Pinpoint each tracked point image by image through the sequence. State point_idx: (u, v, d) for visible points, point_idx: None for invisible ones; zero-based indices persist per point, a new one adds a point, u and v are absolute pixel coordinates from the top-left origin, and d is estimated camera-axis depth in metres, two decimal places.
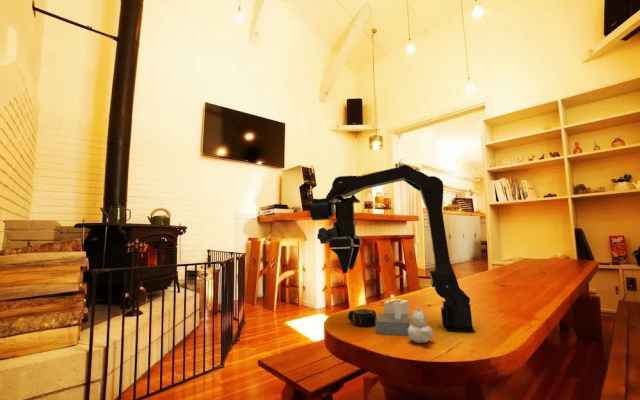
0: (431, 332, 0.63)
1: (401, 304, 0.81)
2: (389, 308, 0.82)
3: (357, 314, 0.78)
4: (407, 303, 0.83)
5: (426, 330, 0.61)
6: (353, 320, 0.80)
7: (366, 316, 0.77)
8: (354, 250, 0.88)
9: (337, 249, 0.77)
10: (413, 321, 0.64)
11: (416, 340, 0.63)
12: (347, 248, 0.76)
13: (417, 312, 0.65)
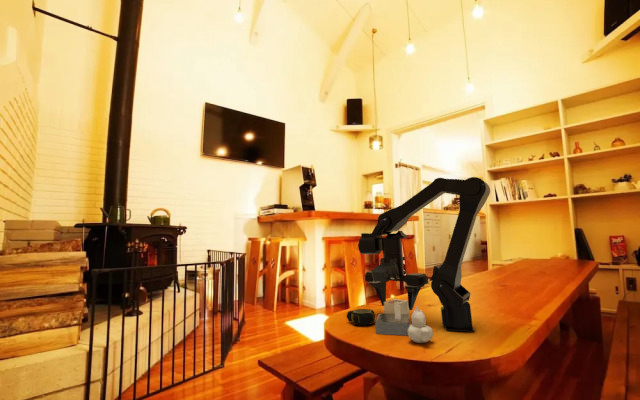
0: (431, 332, 0.63)
1: (401, 304, 0.81)
2: (389, 308, 0.82)
3: (356, 314, 0.78)
4: (407, 303, 0.83)
5: (426, 330, 0.61)
6: (352, 320, 0.80)
7: (365, 316, 0.77)
8: (383, 285, 0.89)
9: (417, 287, 0.78)
10: (413, 321, 0.64)
11: (416, 340, 0.63)
12: (422, 285, 0.80)
13: (417, 312, 0.65)
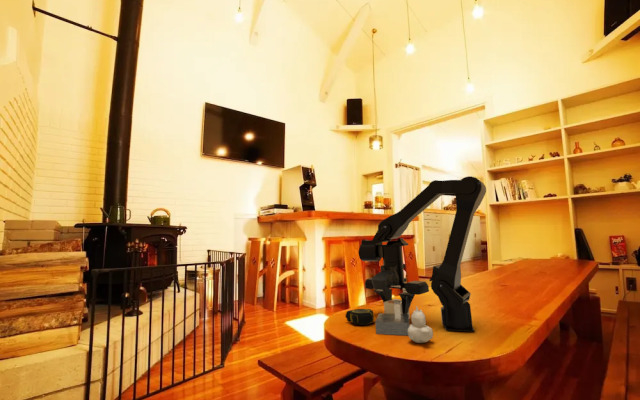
0: (431, 332, 0.63)
1: (401, 304, 0.81)
2: (389, 308, 0.82)
3: (354, 313, 0.79)
4: None
5: (426, 330, 0.61)
6: (351, 319, 0.80)
7: (363, 315, 0.78)
8: (389, 293, 0.87)
9: (411, 294, 0.79)
10: (413, 321, 0.64)
11: (416, 340, 0.63)
12: None
13: (417, 312, 0.65)
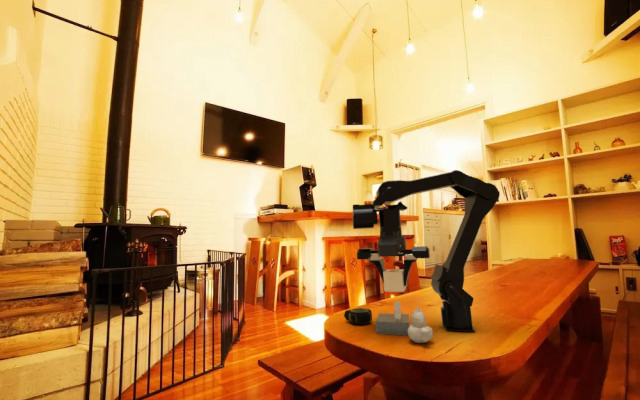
0: (431, 332, 0.63)
1: (402, 272, 0.74)
2: (390, 278, 0.73)
3: (353, 313, 0.79)
4: None
5: (426, 330, 0.61)
6: (349, 319, 0.81)
7: (362, 315, 0.78)
8: (383, 263, 0.79)
9: (415, 260, 0.73)
10: (413, 321, 0.64)
11: (416, 340, 0.63)
12: (416, 258, 0.76)
13: (417, 312, 0.65)
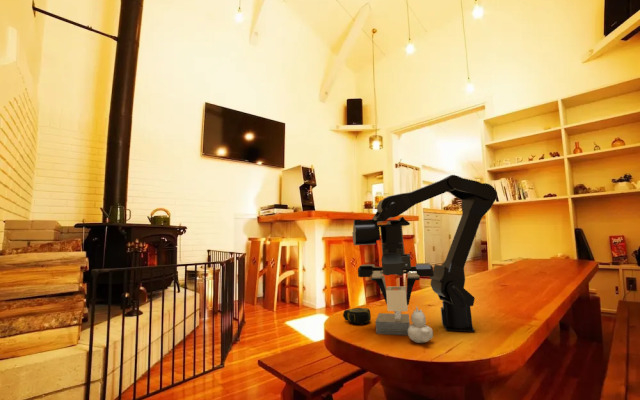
0: (431, 332, 0.63)
1: (405, 290, 0.72)
2: (394, 296, 0.71)
3: (352, 312, 0.80)
4: None
5: (426, 330, 0.61)
6: (348, 318, 0.81)
7: (360, 314, 0.79)
8: (384, 280, 0.76)
9: None
10: (413, 321, 0.64)
11: (416, 340, 0.63)
12: None
13: (417, 312, 0.65)
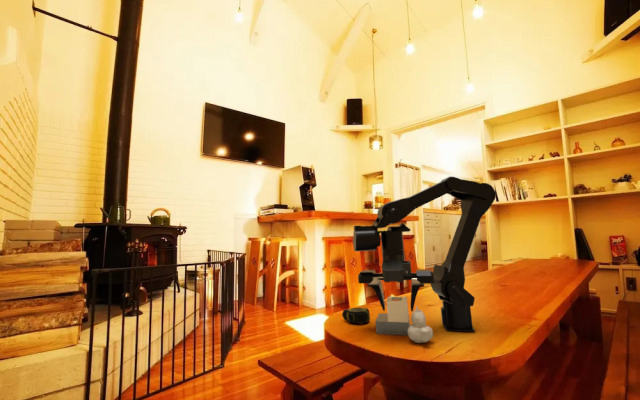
0: (431, 332, 0.63)
1: (406, 301, 0.72)
2: (394, 307, 0.71)
3: (351, 312, 0.80)
4: None
5: (426, 330, 0.61)
6: (347, 318, 0.82)
7: (359, 314, 0.79)
8: (381, 286, 0.76)
9: (423, 284, 0.71)
10: (413, 321, 0.64)
11: (416, 340, 0.63)
12: None
13: (417, 312, 0.65)
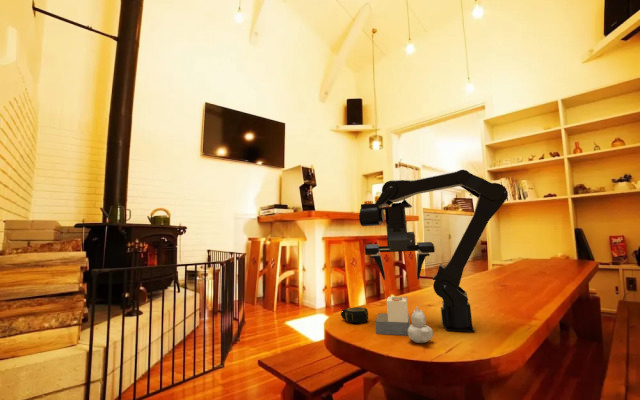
0: (431, 332, 0.63)
1: (406, 301, 0.72)
2: (394, 307, 0.71)
3: (349, 312, 0.81)
4: None
5: (426, 330, 0.61)
6: (346, 318, 0.82)
7: (358, 314, 0.80)
8: (381, 258, 0.83)
9: (428, 254, 0.78)
10: (413, 321, 0.64)
11: (416, 340, 0.63)
12: None
13: (417, 312, 0.65)
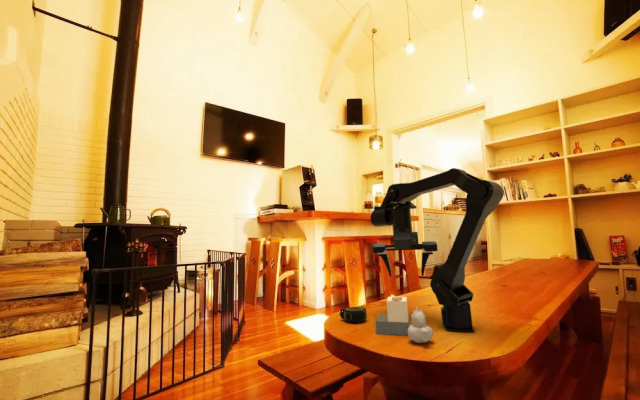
0: (431, 332, 0.63)
1: (406, 301, 0.72)
2: (394, 307, 0.71)
3: (348, 311, 0.81)
4: None
5: (426, 330, 0.61)
6: (344, 317, 0.83)
7: (357, 313, 0.80)
8: (388, 256, 0.89)
9: (432, 252, 0.83)
10: (413, 321, 0.64)
11: (416, 340, 0.63)
12: None
13: (417, 312, 0.65)
